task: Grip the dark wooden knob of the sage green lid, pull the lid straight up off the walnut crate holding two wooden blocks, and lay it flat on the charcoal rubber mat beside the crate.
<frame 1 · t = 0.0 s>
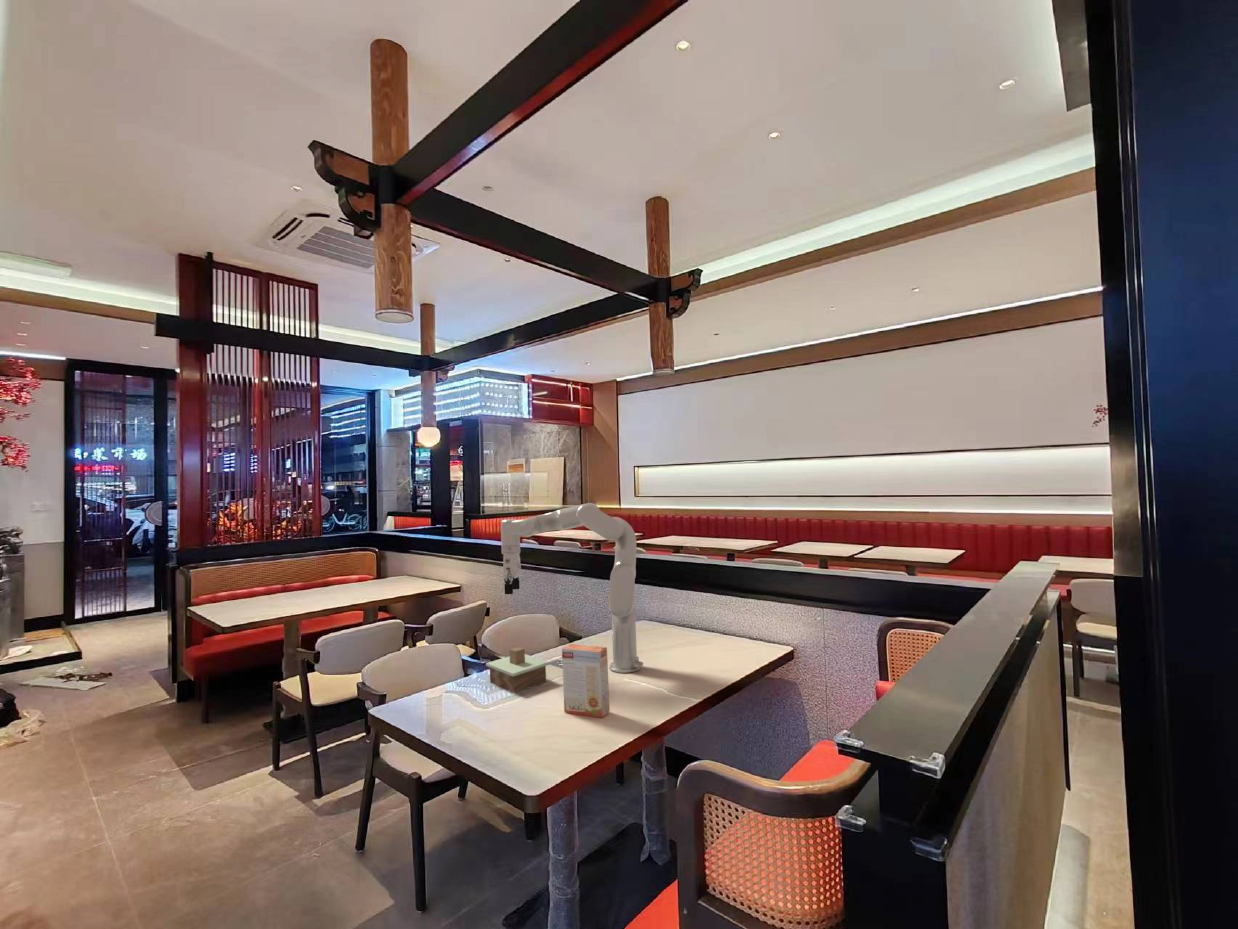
hand: (512, 591, 225), 31 cm above the table, tool pointing down, fingers open, 9 cm apart
cracker box: (587, 712, 179), on the table
mat: (558, 670, 221), on the table
cream block: (523, 684, 205), point 1 cm above the table, touching crate
crate: (518, 684, 207), on the table
lid: (517, 665, 207), point 7 cm above the table, touching crate
ochre block: (512, 679, 210), point 1 cm above the table, touching crate
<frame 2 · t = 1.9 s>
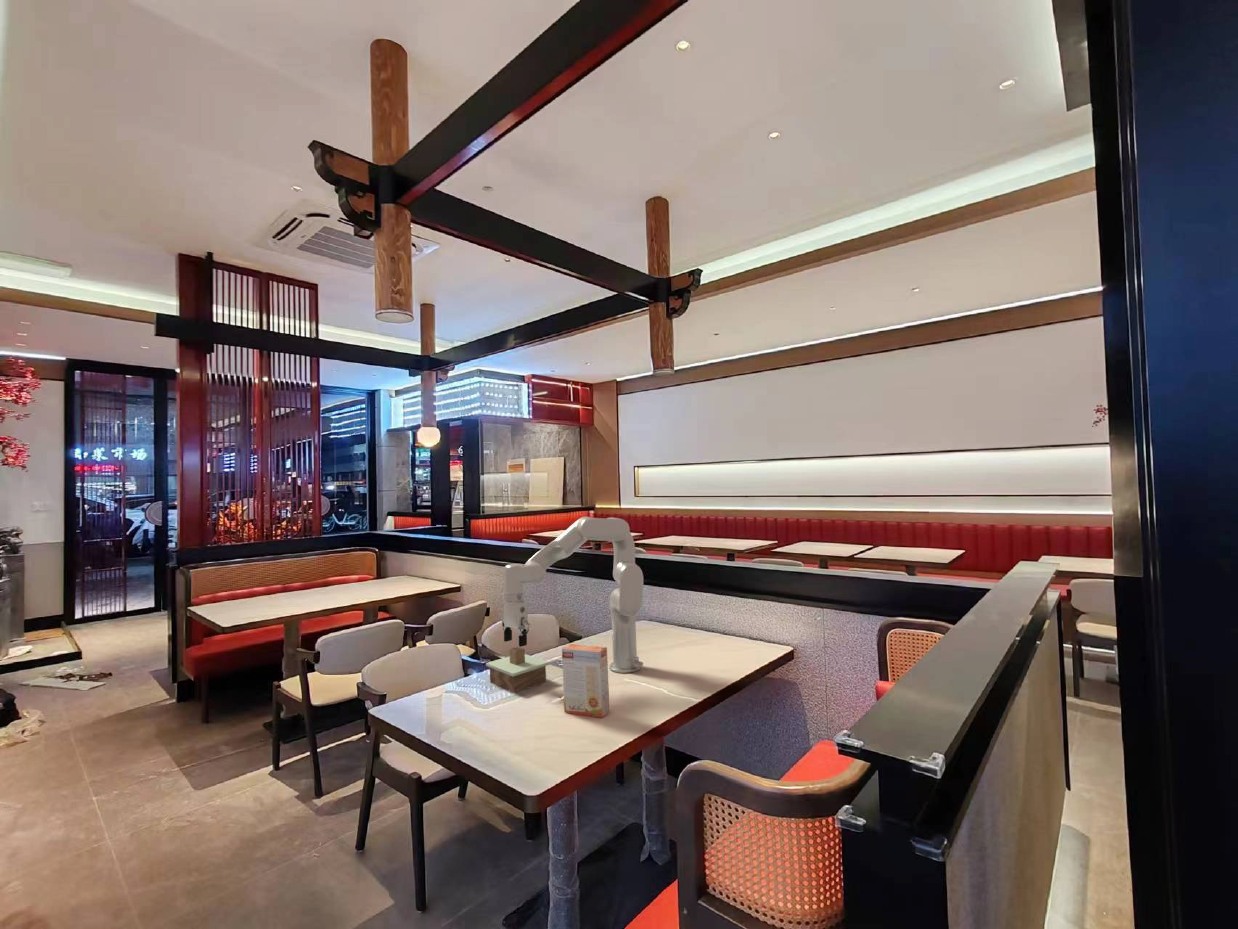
hand: (515, 643, 207), 15 cm above the table, tool pointing down, fingers open, 9 cm apart
nothing on the table moved.
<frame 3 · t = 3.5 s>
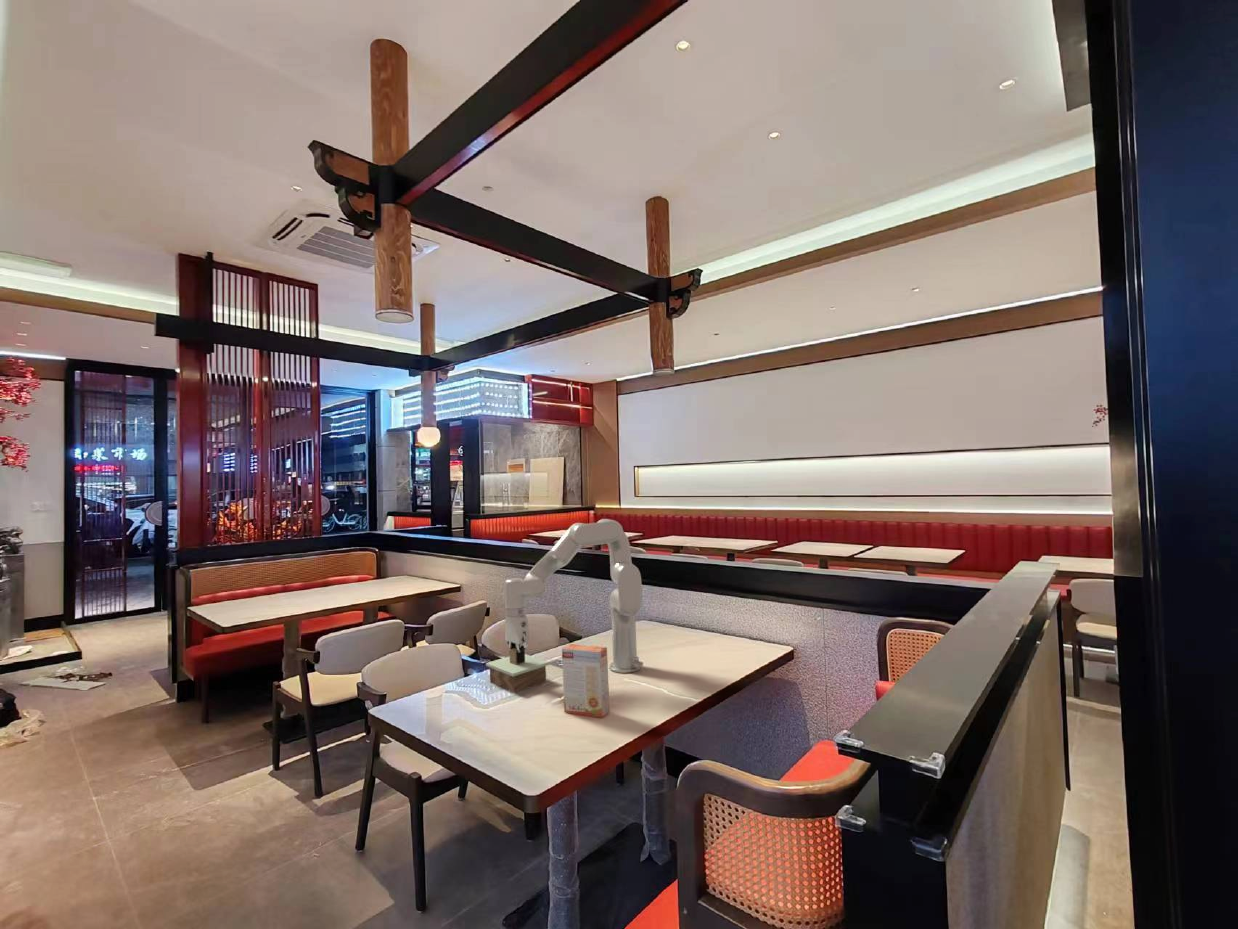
hand: (517, 660, 207), 9 cm above the table, tool pointing down, fingers closed on lid, 4 cm apart
lid: (517, 665, 207), point 7 cm above the table, touching crate, gripper
everything else where it was.
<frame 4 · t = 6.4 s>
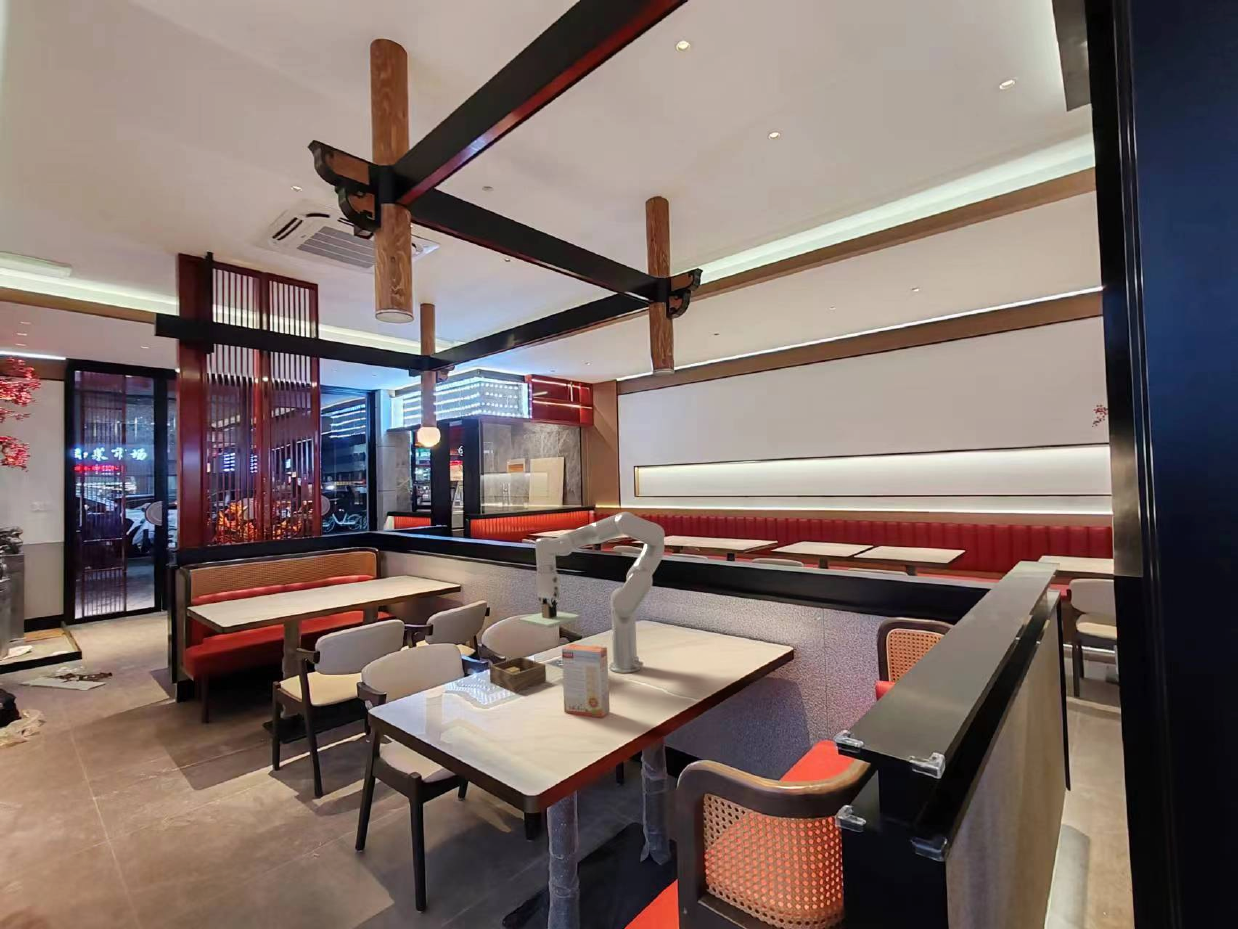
hand: (549, 615, 218), 23 cm above the table, tool pointing down, fingers closed on lid, 4 cm apart
lid: (549, 619, 218), point 21 cm above the table, touching gripper
everything else where it was.
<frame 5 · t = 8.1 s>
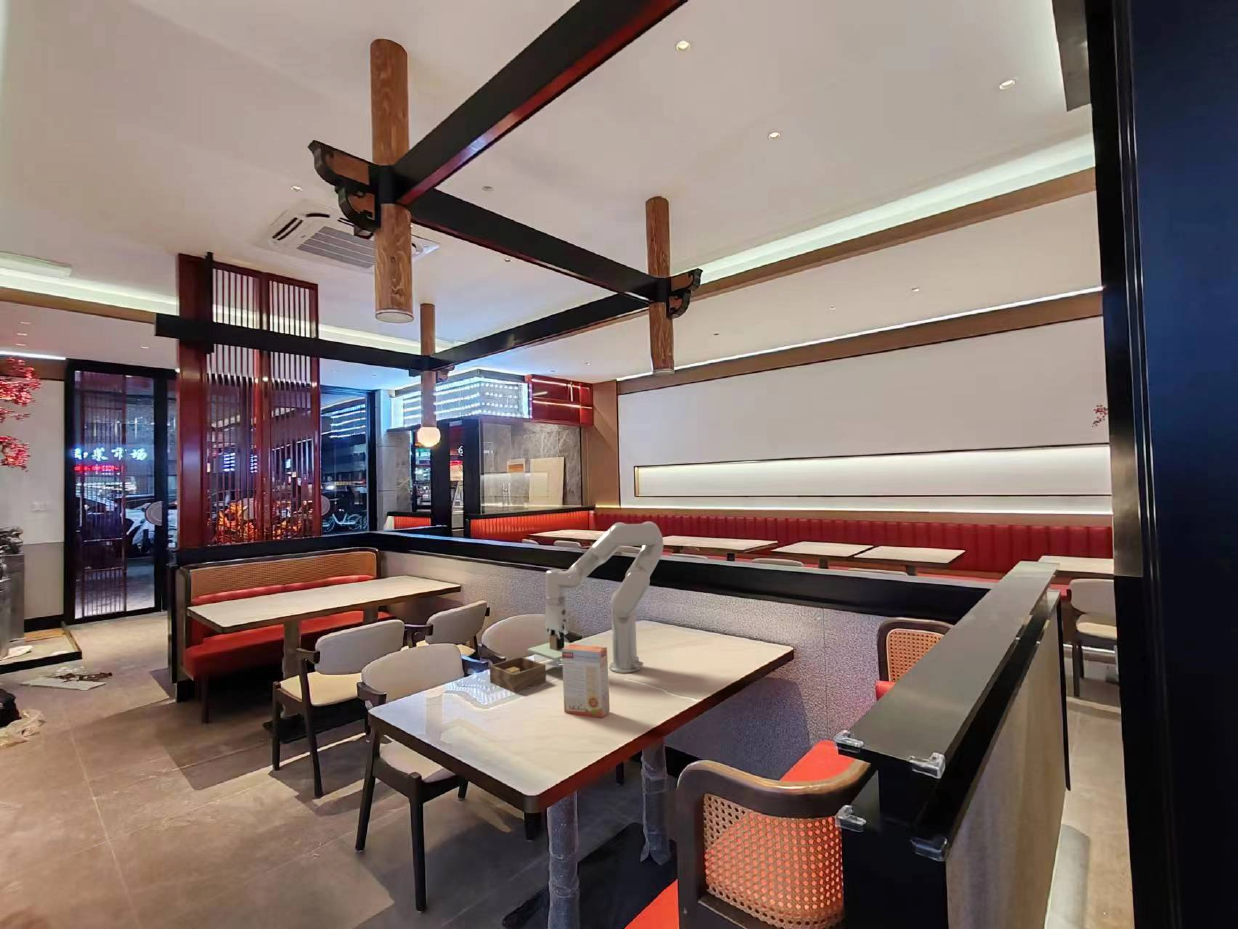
hand: (557, 646, 221), 9 cm above the table, tool pointing down, fingers closed on lid, 4 cm apart
lid: (557, 651, 221), point 8 cm above the table, touching gripper
everything else where it was.
when the fingers open (5 cm above the table, at t = 9.5 s): lid drops 2 cm, resting on mat.
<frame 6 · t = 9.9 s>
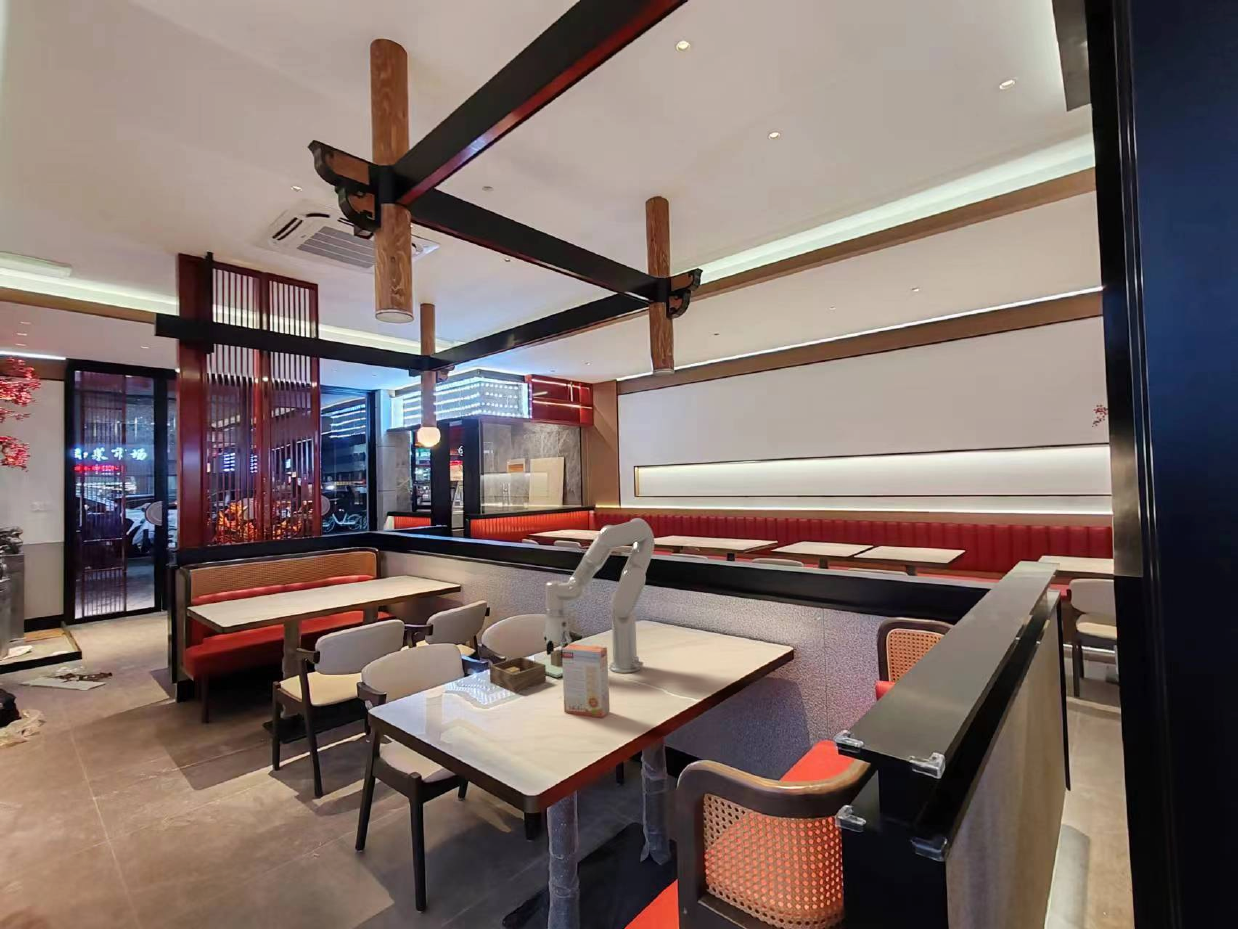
hand: (557, 656, 221), 6 cm above the table, tool pointing down, fingers open, 8 cm apart
lid: (558, 666, 221), point 1 cm above the table, touching mat
everything else where it was.
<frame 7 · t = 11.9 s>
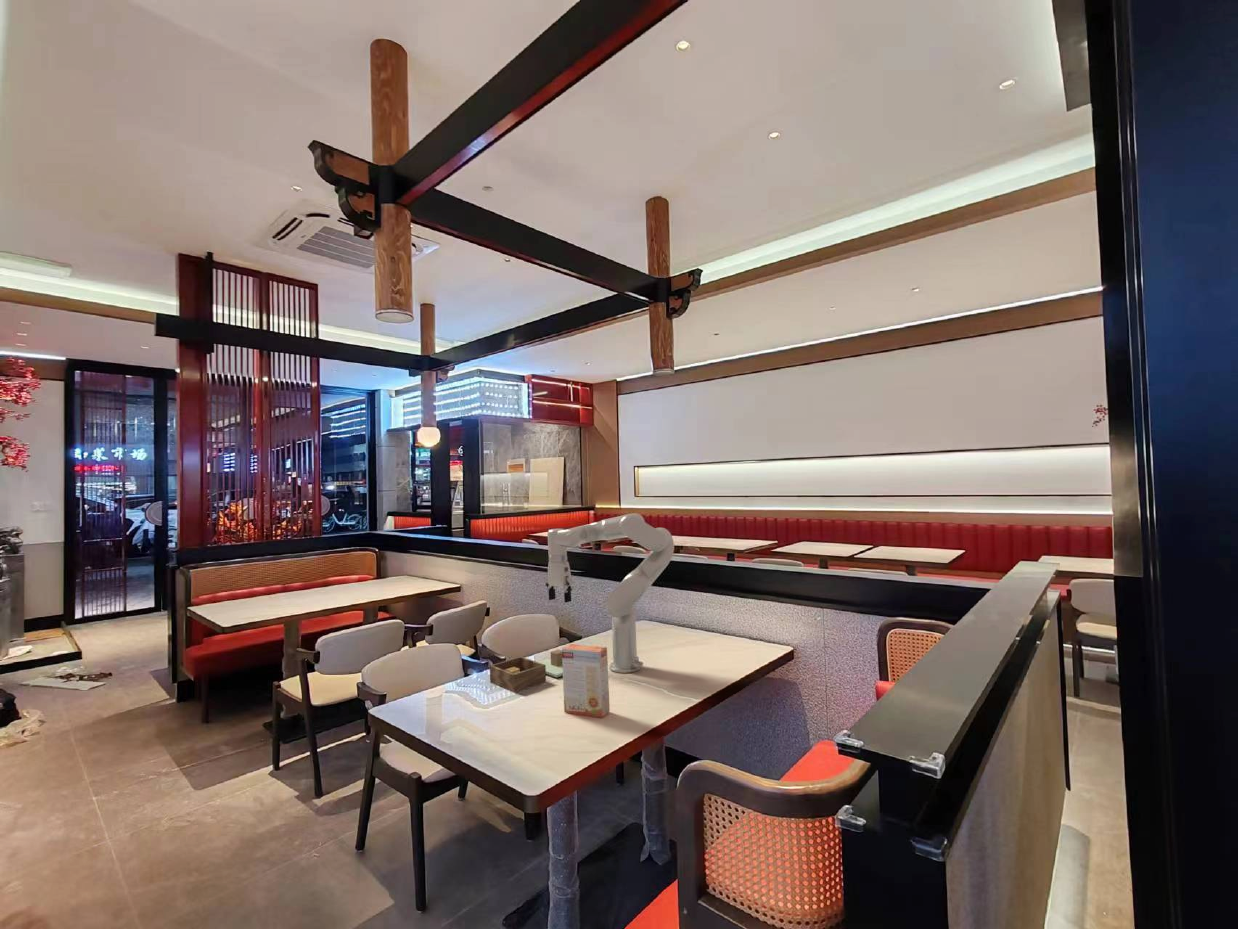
hand: (559, 600, 228), 26 cm above the table, tool pointing down, fingers open, 9 cm apart
nothing on the table moved.
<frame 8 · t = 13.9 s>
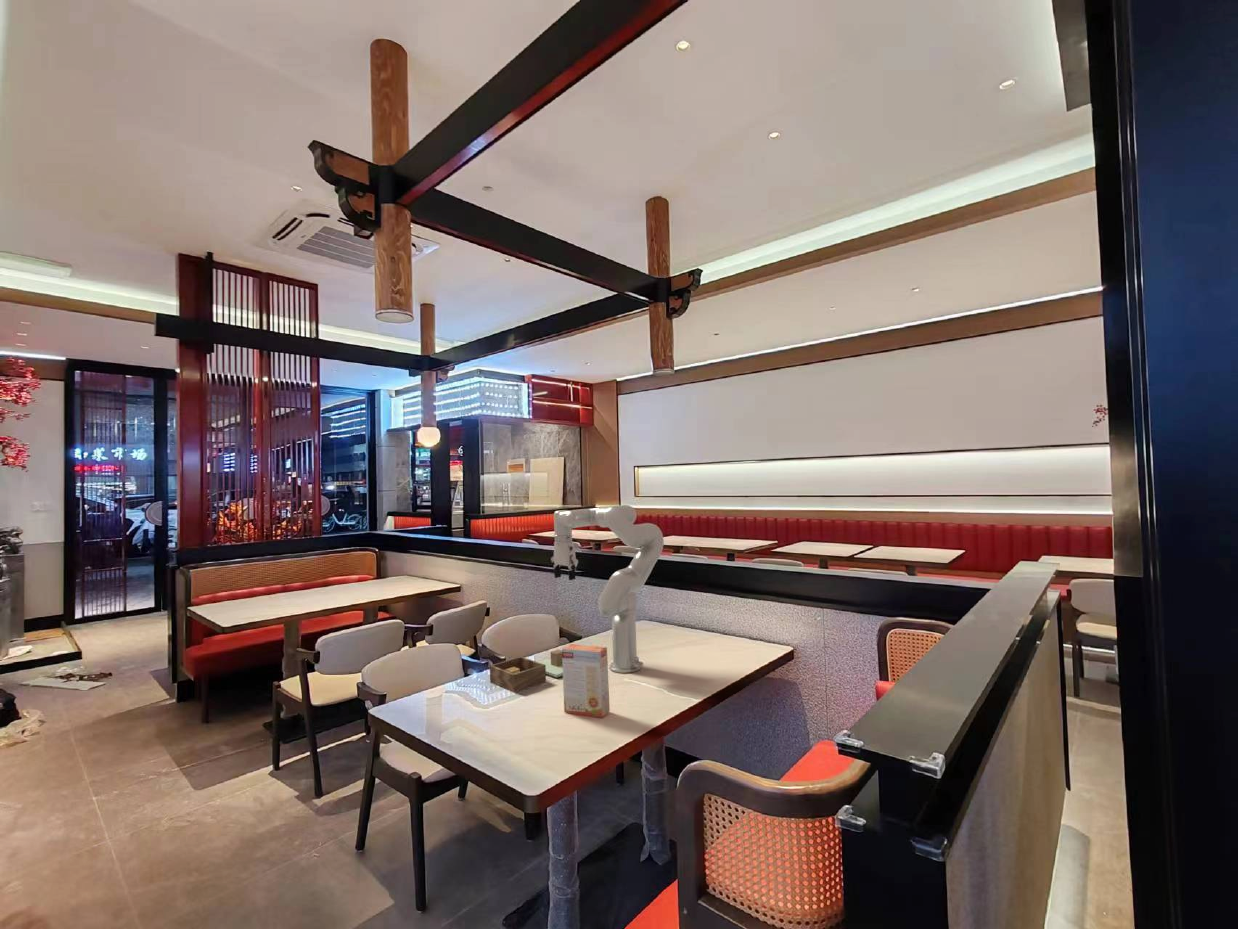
hand: (564, 578, 239), 33 cm above the table, tool pointing down, fingers open, 9 cm apart
nothing on the table moved.
at the end: lid inside the target area (0.1 cm from its centre), point 1.4 cm above the table; lid tilted 0°; the gripper is holding nothing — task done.
